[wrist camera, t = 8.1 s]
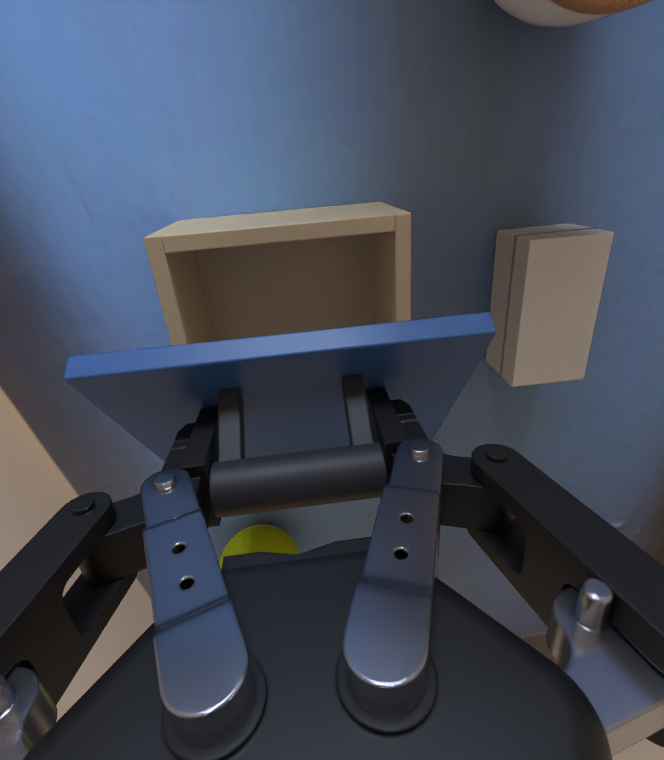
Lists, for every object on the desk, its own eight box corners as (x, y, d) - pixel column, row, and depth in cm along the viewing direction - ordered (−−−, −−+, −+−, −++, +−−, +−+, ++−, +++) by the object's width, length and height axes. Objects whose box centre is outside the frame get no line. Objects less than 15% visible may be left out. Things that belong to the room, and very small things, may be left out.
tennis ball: (238, 498, 36) (228, 563, 30) (311, 517, 38) (316, 583, 32) (214, 553, 39) (201, 623, 33) (284, 569, 41) (283, 638, 35)
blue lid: (66, 355, 12) (36, 523, 10) (490, 310, 13) (543, 460, 11) (207, 483, 26) (206, 566, 24) (411, 458, 27) (427, 537, 25)
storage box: (178, 220, 26) (142, 237, 20) (381, 201, 27) (411, 212, 20) (223, 421, 33) (208, 484, 26) (386, 403, 34) (410, 460, 27)
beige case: (496, 229, 28) (529, 239, 25) (570, 222, 29) (615, 231, 25) (484, 361, 33) (511, 388, 29) (549, 354, 33) (584, 379, 29)
